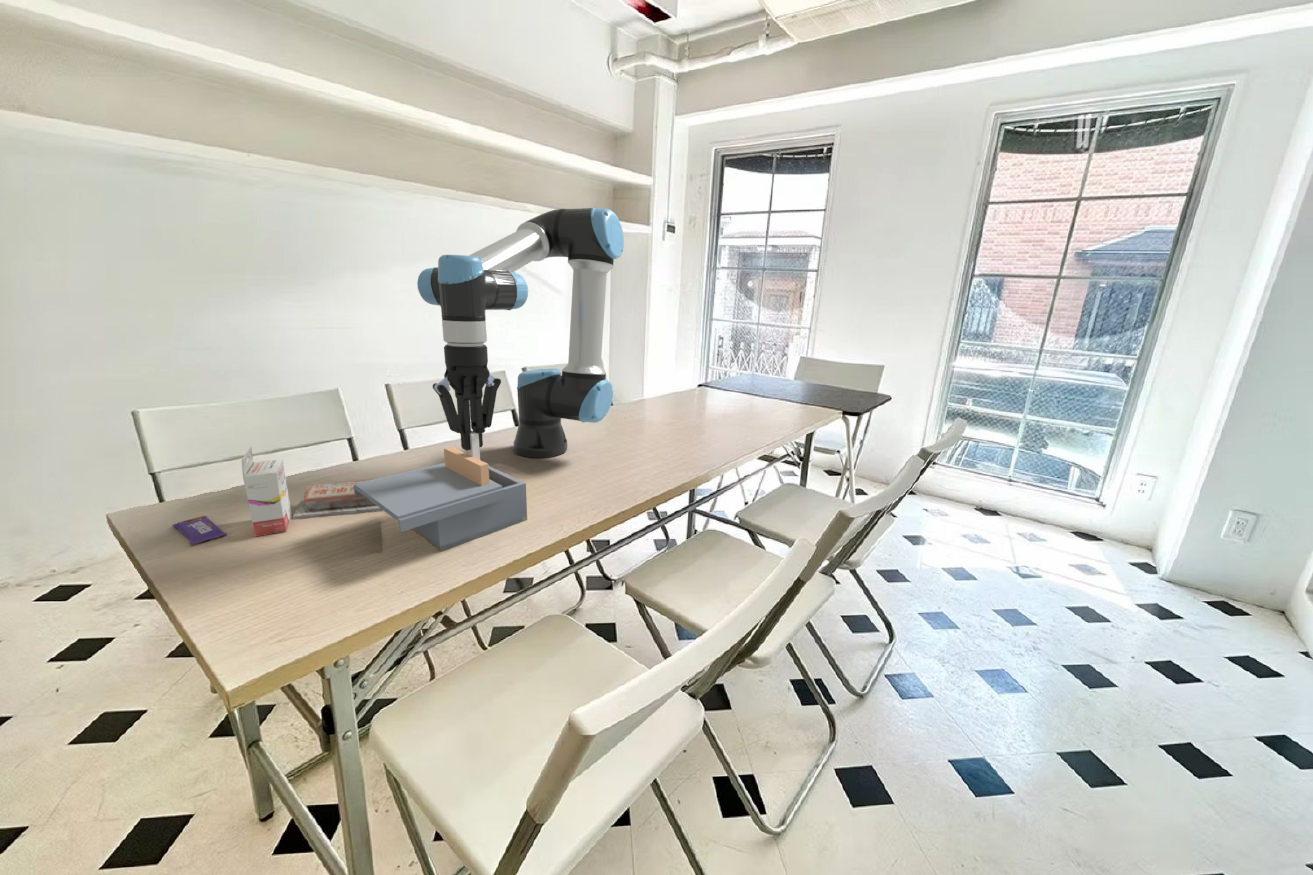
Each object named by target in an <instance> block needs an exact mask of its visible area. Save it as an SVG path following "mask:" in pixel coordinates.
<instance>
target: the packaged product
mask: <svg viewBox="0 0 1313 875" xmlns="http://www.w3.org/2000/svg"><path fill="white" fill-rule="evenodd" d="M364 481H365V480H357V481H345V482H342V481H341V482H332V483H331V482H330V483H328V482H327V483H318V484H311V485H308V486H306V490H305V492H304V495H303V500H302V502H300V505H299V506H298V507H297V509H296V510H295V512H294V513H293V515H291V517H292V518H293V520H298V519H300V520H301V519H308V518H314V517H315V518H316V517H331V516H342V515H353V514H355V515H356V514H362V513H371V512H378V511H379V512H380V511H383V510H382V509H381V508H379V507H378V506H377V505H375V504H374V503H373V502H371V501H370V500H369V499H367V498H366V497H365V496H363V495H359V496H355V495H354V488H353V485H354V484H356V483H360V482H364ZM383 512H384V511H383Z"/></svg>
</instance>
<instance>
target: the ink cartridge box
mask: <svg viewBox="0 0 1313 875" xmlns="http://www.w3.org/2000/svg"><path fill="white" fill-rule="evenodd" d="M241 469H242V470H241V472H242V479H243V483H244V484H243V486H244V487H245V488H244V489H245V493H246V494H245V495H246V499H247V503H248V508H249V512H250V517H251V523H252V527H253V532H254V536H255V537H258V536H265V535H272V534H278V533H285V532H287V530H288V527H289V524H290V521H291V518H292V514H293V513H292V512H293V511H292V507H291V502H290V496H289V490H288V484H287V477H286V472H285V466H284V459H283V458H279V459H278V458H277V459H270V460H263V461H254V459H253V448H252V447H250V448H249V449H248V450H247V452H245V454H244V456H242V458H241Z"/></svg>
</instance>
